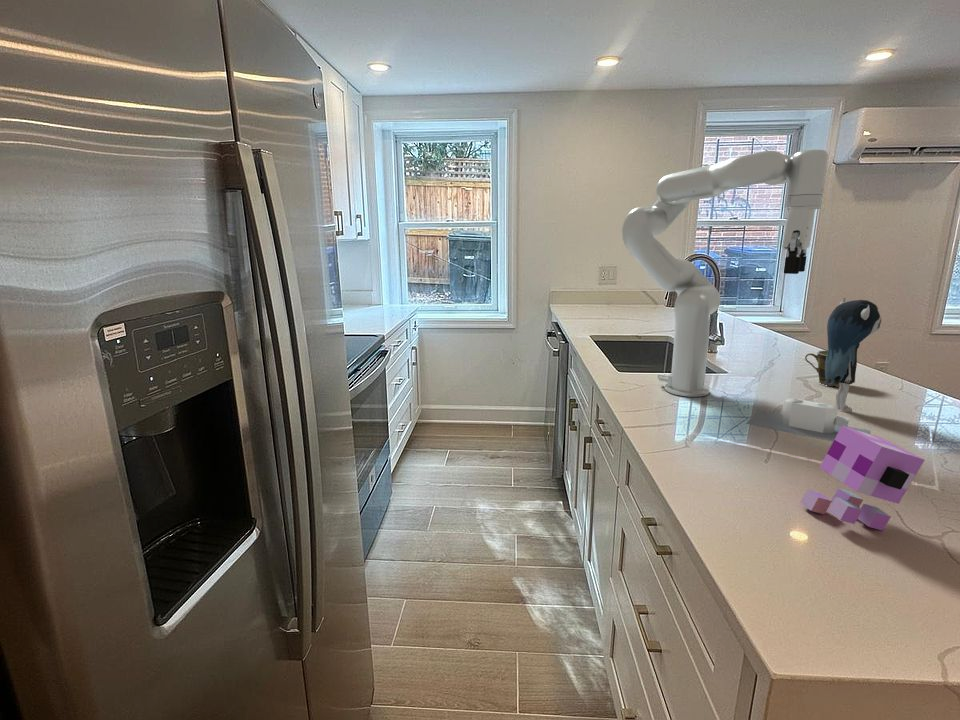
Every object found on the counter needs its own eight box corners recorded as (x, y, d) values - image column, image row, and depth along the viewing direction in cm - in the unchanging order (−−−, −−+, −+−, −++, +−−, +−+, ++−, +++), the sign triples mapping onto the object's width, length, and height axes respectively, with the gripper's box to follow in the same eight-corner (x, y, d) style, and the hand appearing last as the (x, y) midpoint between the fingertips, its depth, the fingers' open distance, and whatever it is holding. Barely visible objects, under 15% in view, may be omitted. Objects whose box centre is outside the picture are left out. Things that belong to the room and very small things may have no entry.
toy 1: (875, 421, 127) (898, 303, 120) (828, 419, 129) (848, 302, 122) (849, 404, 140) (867, 297, 133) (806, 402, 142) (823, 296, 135)
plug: (779, 424, 124) (782, 401, 123) (782, 419, 127) (785, 397, 126) (845, 437, 116) (849, 412, 115) (847, 432, 119) (851, 408, 118)
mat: (745, 425, 125) (746, 423, 125) (757, 412, 135) (757, 409, 135) (866, 450, 110) (866, 447, 110) (869, 432, 120) (869, 430, 120)
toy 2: (795, 498, 89) (835, 422, 85) (833, 508, 90) (875, 434, 86) (841, 534, 78) (889, 450, 75) (883, 546, 80) (933, 463, 76)
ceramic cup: (849, 383, 161) (854, 352, 158) (851, 391, 152) (857, 358, 150) (801, 377, 167) (806, 348, 165) (801, 384, 159) (806, 354, 157)
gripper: (791, 205, 135) (783, 270, 139) (780, 202, 122) (771, 274, 126) (825, 204, 130) (815, 271, 134) (816, 200, 117) (806, 275, 121)
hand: (794, 272), depth 130 cm, fingers open, 9 cm apart
